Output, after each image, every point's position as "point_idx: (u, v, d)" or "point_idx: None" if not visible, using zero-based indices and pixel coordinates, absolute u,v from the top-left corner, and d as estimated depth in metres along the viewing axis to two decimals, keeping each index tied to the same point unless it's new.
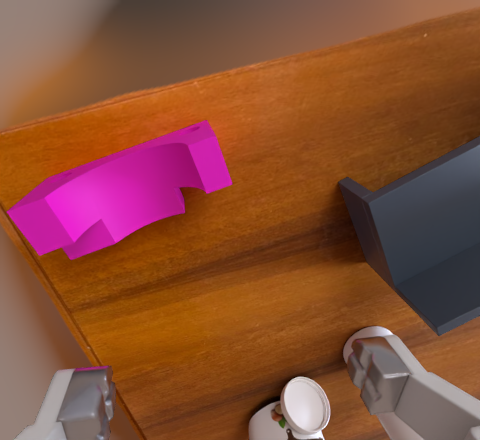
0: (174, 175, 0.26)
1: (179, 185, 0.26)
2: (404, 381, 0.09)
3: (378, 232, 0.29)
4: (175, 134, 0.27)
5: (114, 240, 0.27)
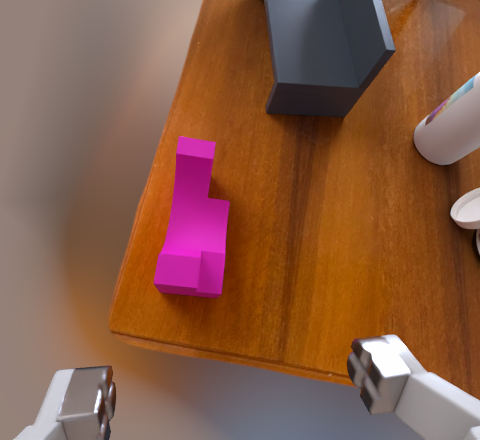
0: (198, 190, 0.35)
1: (206, 191, 0.35)
2: (404, 381, 0.09)
3: (304, 83, 0.39)
4: None
5: (222, 253, 0.32)
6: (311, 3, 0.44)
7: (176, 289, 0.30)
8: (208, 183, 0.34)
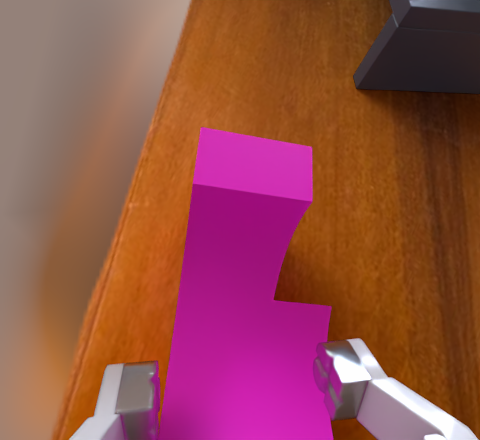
0: (249, 282, 0.12)
1: (272, 283, 0.12)
2: (364, 386, 0.09)
3: (467, 10, 0.17)
4: None
5: None
6: None
7: None
8: (279, 263, 0.12)
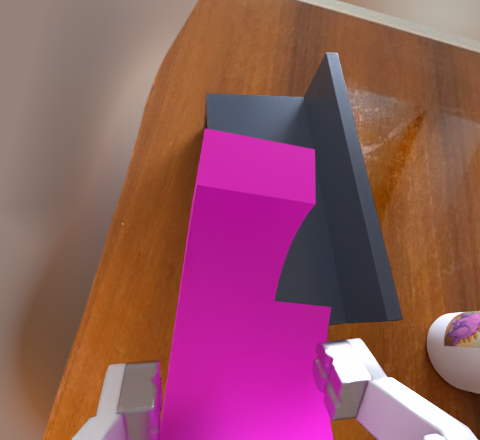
0: (251, 283, 0.12)
1: (273, 284, 0.12)
2: (364, 387, 0.09)
3: None
4: (184, 258, 0.14)
5: None
6: None
7: None
8: (280, 264, 0.12)
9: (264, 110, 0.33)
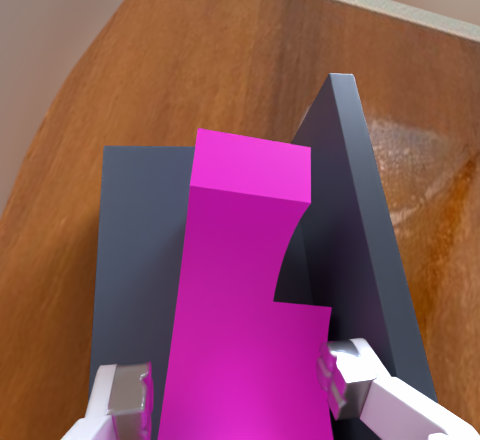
0: (249, 283, 0.12)
1: (272, 285, 0.12)
2: (368, 386, 0.09)
3: None
4: None
5: None
6: None
7: None
8: (278, 264, 0.12)
9: None
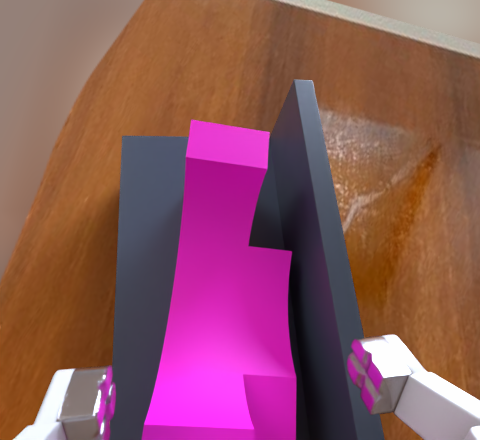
0: (230, 232, 0.17)
1: (247, 233, 0.17)
2: (404, 381, 0.09)
3: None
4: None
5: (290, 377, 0.14)
6: None
7: None
8: (251, 217, 0.17)
9: None
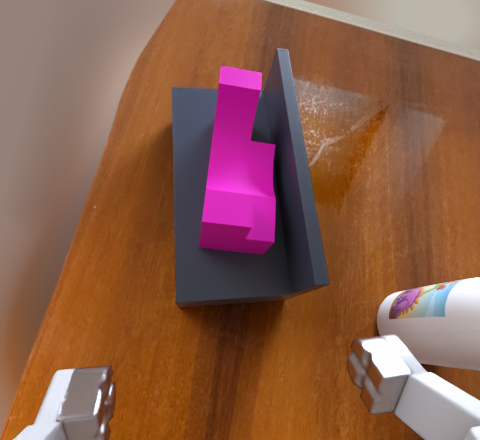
0: (240, 132, 0.30)
1: (250, 133, 0.31)
2: (404, 381, 0.09)
3: (214, 299, 0.29)
4: None
5: (272, 198, 0.28)
6: None
7: (223, 235, 0.26)
8: (252, 123, 0.30)
9: None
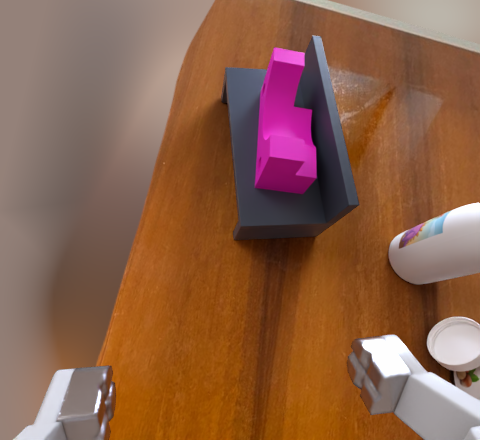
0: (286, 99, 0.40)
1: (293, 100, 0.40)
2: (404, 381, 0.09)
3: (269, 224, 0.38)
4: (262, 101, 0.42)
5: (313, 147, 0.37)
6: None
7: (279, 172, 0.35)
8: (295, 92, 0.39)
9: None
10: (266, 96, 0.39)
